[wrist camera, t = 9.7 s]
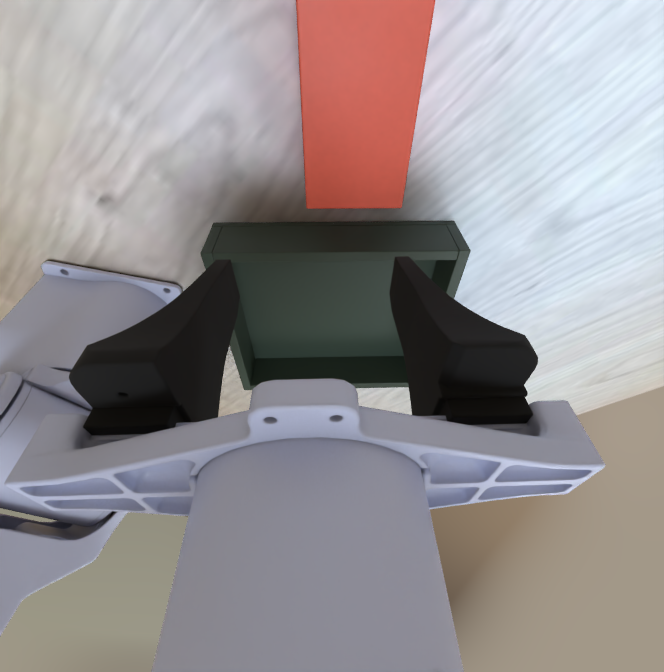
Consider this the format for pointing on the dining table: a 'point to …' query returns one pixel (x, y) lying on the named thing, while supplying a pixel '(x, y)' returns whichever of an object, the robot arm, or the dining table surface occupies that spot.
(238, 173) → the dining table surface
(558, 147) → the dining table surface
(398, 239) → the tote
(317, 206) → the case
